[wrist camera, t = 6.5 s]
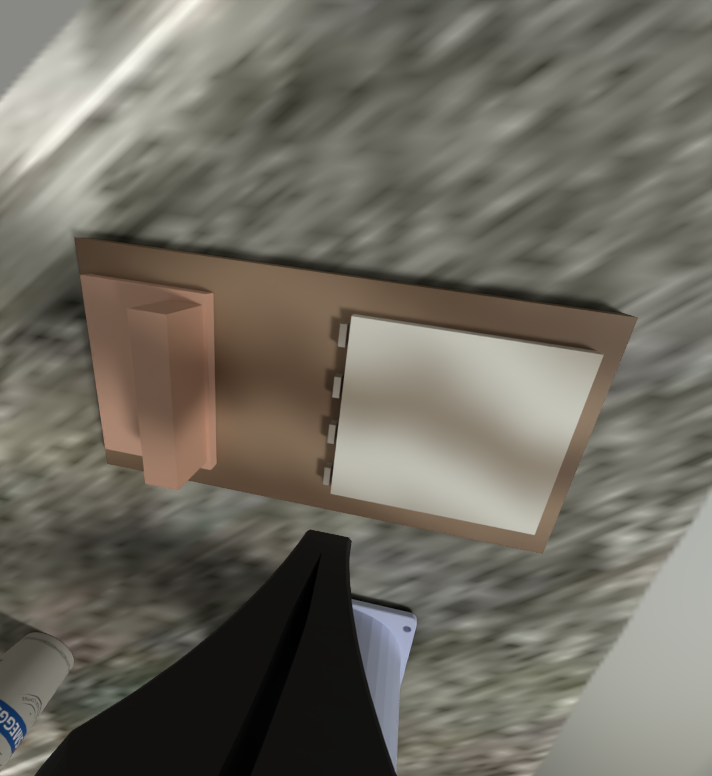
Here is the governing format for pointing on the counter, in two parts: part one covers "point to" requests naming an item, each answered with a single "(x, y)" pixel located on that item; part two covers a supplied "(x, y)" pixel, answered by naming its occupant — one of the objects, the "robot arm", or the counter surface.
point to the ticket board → (391, 392)
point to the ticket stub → (154, 374)
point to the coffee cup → (28, 685)
